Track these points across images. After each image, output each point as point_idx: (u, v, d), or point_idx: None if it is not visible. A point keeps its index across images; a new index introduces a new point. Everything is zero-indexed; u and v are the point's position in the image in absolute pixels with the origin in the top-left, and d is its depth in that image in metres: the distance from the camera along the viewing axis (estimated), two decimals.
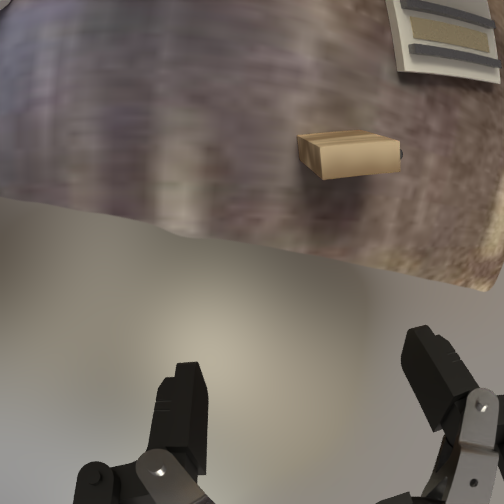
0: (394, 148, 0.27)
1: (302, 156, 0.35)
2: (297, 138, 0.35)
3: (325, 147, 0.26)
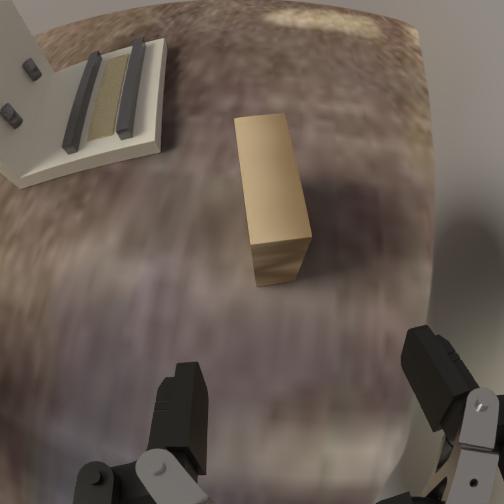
0: (246, 124, 0.18)
1: (286, 277, 0.23)
2: (260, 285, 0.25)
3: (250, 234, 0.16)
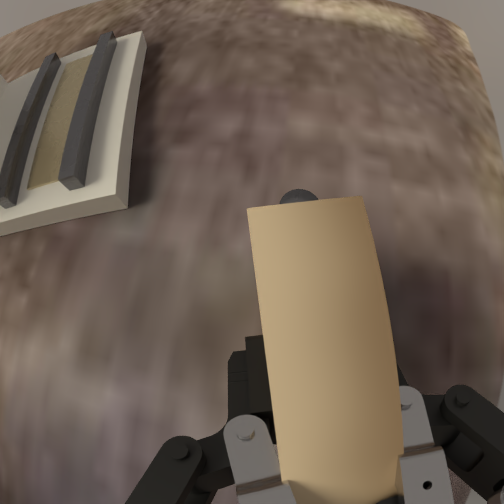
0: (277, 227, 0.08)
1: None
2: None
3: None
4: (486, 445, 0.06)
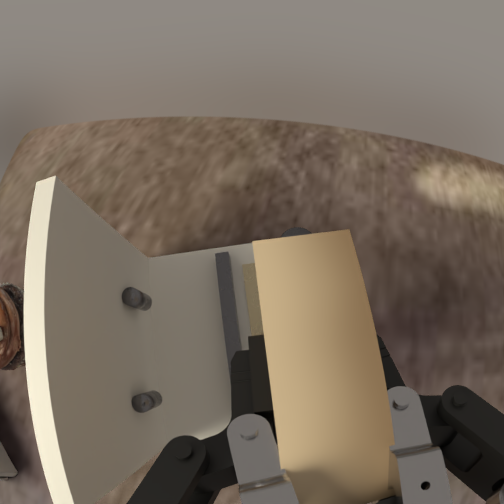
0: (277, 256, 0.09)
1: None
2: None
3: None
4: (484, 445, 0.06)
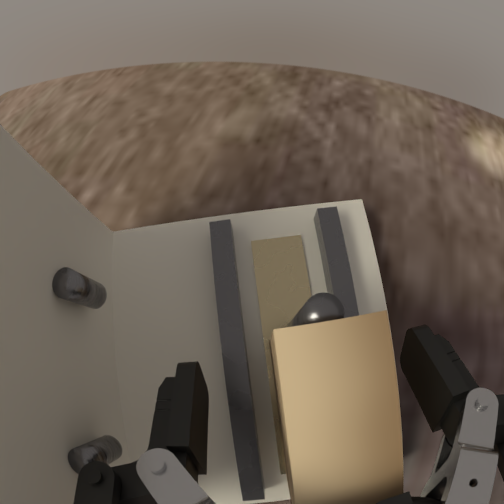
0: (303, 348, 0.08)
1: None
2: None
3: None
4: None
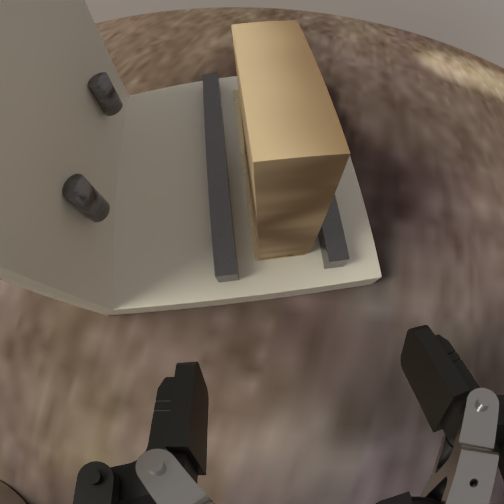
0: (247, 29, 0.11)
1: (301, 243, 0.17)
2: (265, 257, 0.19)
3: (253, 148, 0.09)
4: None
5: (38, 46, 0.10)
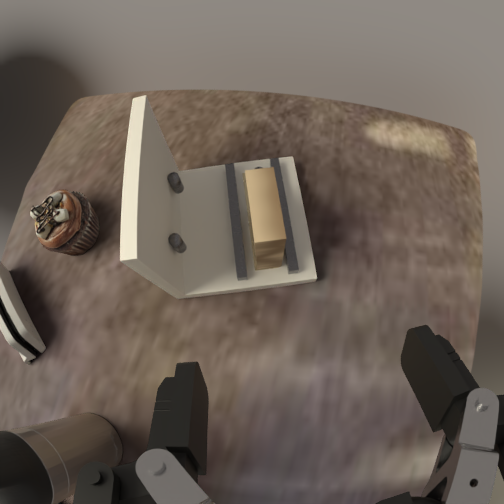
0: (252, 174, 0.32)
1: (275, 263, 0.38)
2: (260, 268, 0.40)
3: (254, 237, 0.30)
4: None
5: (153, 173, 0.31)
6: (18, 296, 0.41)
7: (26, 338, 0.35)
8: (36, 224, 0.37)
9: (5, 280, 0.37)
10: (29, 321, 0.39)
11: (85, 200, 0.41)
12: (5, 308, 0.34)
